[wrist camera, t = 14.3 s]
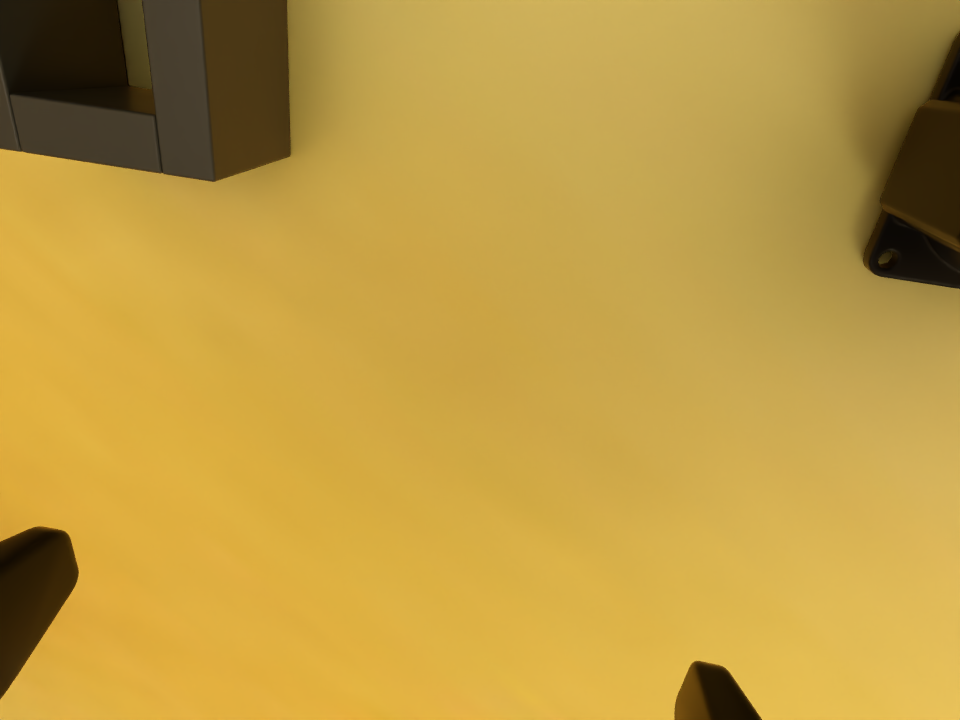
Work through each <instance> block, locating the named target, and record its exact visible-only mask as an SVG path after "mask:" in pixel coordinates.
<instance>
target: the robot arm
mask: <svg viewBox="0 0 960 720" xmlns="http://www.w3.org/2000/svg"><path fill="white" fill-rule="evenodd" d="M880 203H881V205H882V207H883V210H882V213H881V215H880V217H879V220H878V222H877V224H876V227H875V229H874V231H873V234H872V236H871V239H870V241H869V243H868V246H867V248H866V250H865V253H864V257H863V262H864V266H865V267H866V268H867V269H868V270H869V271H871V272H872V273H873V274H875V275H878V276H881V277H887V278H893V279H900V280H906V281H912V282H919V283H925V284H932V285H938V286H945V287H951V288H958V289H960V33H959V34H958V36H957V37H956V39H955V41H954V43H953V45H952V48H951V50H950V52H949V55H948V57H947V59H946V62H945V64H944V67H943V69H942V71H941V74H940V76H939V78H938V81H937V83H936V85H935V88H934V90H933V92H932V95H931V97H930V100H929V101H928V102H927V103H925V104H924V105H922V106H921V107H919V109H918V110H917V112H916V115H915V117H914V119H913V122H912V124H911V127H910V129H909V131H908V134H907V136H906V138H905V141H904V143H903V146H902V148H901V150H900V153H899V155H898V158H897V160H896V162H895V165H894V167H893V169H892V172H891V174H890V177H889V179H888V181H887V184H886V186H885V189H884V191H883V193H882V196H881V198H880ZM889 251H891V252H892V256H891V258H890V260H889V261H888V262H886V263H884V264H878V261H879V258H880V256H881V255H882V254H884V253H885V252H889ZM78 573H79V571H78V566H77V562H76V558H75V554H74V551H73V547H72V543H71V539H70V537H69V535H68V534H67V533H66V532H65V531H62V530H58V529H53V528H48V527H34V528H31V529H28V530H26V531H24V532H22V533H19V534H17V535H15V536H12V537H10V538H8V539H6V540H3V541H1V542H0V699H1V698H2V696H3V695H4V694H5V692H6V691H7V690H8V688H9V687H10V685H11V684H12V682H13V681H14V679H15V678H16V676H17V675H18V674H19V672H20V671H21V669H22V667H23V666H24V664H25V663H26V661H27V660H28V658H29V657H30V655H31V654H32V652H33V651H34V649H35V647H36V646H37V644H38V643H39V641H40V640H41V638H42V637H43V635H44V634H45V632H46V631H47V629H48V627H49V626H50V624H51V623H52V621H53V620H54V618H55V617H56V615H57V614H58V612H59V610H60V609H61V607H62V606H63V604H64V603H65V601H66V600H67V598H68V597H69V595H70V594H71V592H72V590H73V589H74V587H75V585H76V582H77V579H78ZM675 720H762V719H761V717H760V716H759V715H758V713H757V712H756V710H755V709H754V707H753V706H752V704H751V703H750V701H749V700H748V699H747V697H746V696H745V694H744V693H743V691H742V690H741V688H740V687H739V685H738V684H737V683H736V681H735V680H734V678H733V677H732V675H731V674H730V673H729V671H728V670H727V669H726V668H724V667H723V666H720V665H716V664H711V663H706V662H701V661H695V662H693V663H692V664H691V666H690V667H689V670H688V672H687V674H686V677H685V679H684V682H683V684H682V686H681V689H680V691H679V693H678V696H677V699H676V703H675Z"/></svg>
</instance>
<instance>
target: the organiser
mask: <svg viewBox="0 0 960 720" xmlns="http://www.w3.org/2000/svg"><path fill="white" fill-rule="evenodd" d="M142 6H143V14H144V22H145V30H146V39H147V47H148V55H149V64H150V72H151V80H152V89H146V88H139V87H132V86H128V83H127V75H126V68H125V61H124V53H123V46H122V39H121V32H120V24H119V17H118V10H117V2H116V0H0V149H6V150H12V151H19V152H22V151H23V152H26V153H32V154H38V155H45V156H51V157H58V158H64V159H71V160H77V161H83V162H90V163H96V164H103V165H109V166H116V167H122V168H129V169H135V170H141V171H148V172H154V173H164V174H167V175H173V176H180V177H186V178H192V179H199V180H205V181H212V182H215V181H218V180H221V179H224V178H227V177H230V176H233V175H236V174H239V173H242V172H245V171H248V170H251V169H254V168H257V167H260V166H263V165H266V164H269V163H272V162H274V161H277V160H280V159H283V158H286V157H289V156H290V117H289V78H288V39H287V0H142Z"/></svg>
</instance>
